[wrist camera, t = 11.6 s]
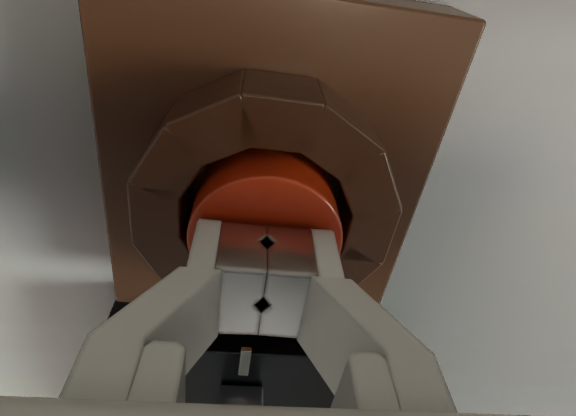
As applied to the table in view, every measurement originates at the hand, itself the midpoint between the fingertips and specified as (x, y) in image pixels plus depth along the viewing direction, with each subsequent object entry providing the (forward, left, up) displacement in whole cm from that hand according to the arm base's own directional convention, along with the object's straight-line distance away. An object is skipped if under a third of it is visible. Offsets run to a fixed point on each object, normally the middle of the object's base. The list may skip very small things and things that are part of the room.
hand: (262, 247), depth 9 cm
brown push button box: (0, 0, -5) cm, 5 cm away
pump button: (0, 0, -2) cm, 2 cm away
